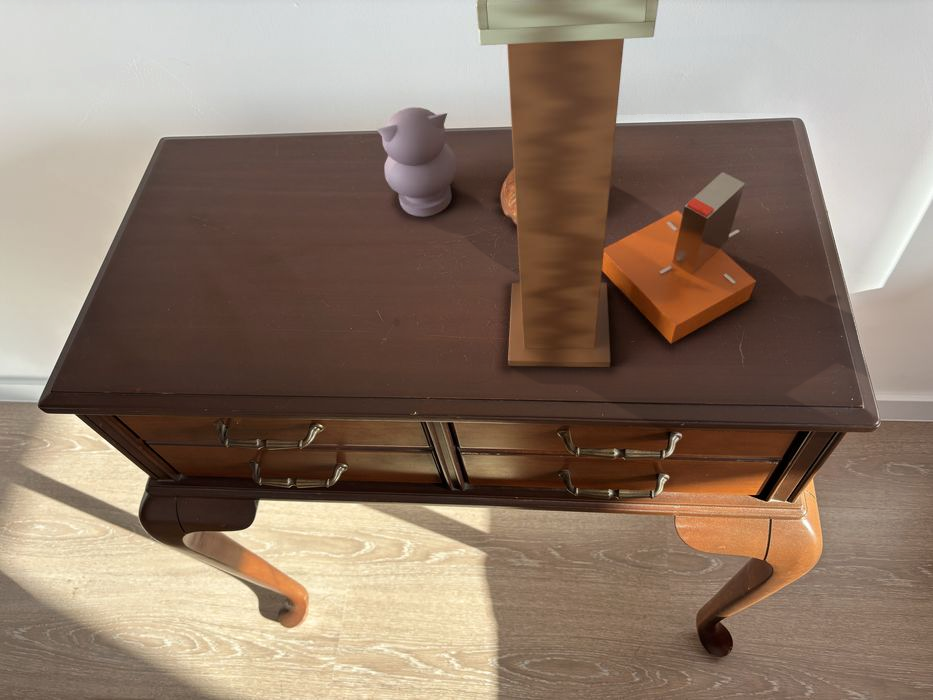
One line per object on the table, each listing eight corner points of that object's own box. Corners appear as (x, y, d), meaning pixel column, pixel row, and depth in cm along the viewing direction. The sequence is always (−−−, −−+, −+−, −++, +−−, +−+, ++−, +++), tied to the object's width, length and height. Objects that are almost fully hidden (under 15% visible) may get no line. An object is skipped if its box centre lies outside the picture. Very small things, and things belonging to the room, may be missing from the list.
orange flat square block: (772, 286, 72) (780, 266, 69) (670, 343, 69) (675, 325, 67) (695, 218, 78) (700, 197, 76) (599, 268, 76) (601, 248, 73)
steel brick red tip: (706, 229, 73) (722, 169, 66) (727, 241, 72) (745, 181, 65) (671, 262, 71) (684, 203, 64) (692, 274, 70) (707, 216, 63)
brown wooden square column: (606, 288, 74) (646, -93, 43) (609, 367, 68) (659, -5, 38) (512, 288, 75) (486, -82, 44) (508, 366, 70) (475, 4, 39)
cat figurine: (451, 167, 87) (439, 84, 77) (468, 209, 83) (457, 126, 73) (385, 185, 86) (364, 103, 77) (399, 228, 82) (379, 147, 72)
